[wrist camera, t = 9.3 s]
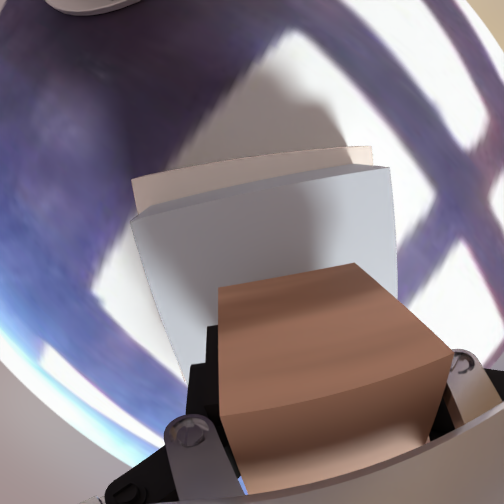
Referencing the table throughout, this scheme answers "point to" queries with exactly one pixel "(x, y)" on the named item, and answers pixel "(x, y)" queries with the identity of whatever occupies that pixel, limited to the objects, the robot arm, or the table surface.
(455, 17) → the table surface
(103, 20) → the table surface
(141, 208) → the tower base
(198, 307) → the tower top
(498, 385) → the robot arm
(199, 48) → the table surface
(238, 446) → the terracotta block
